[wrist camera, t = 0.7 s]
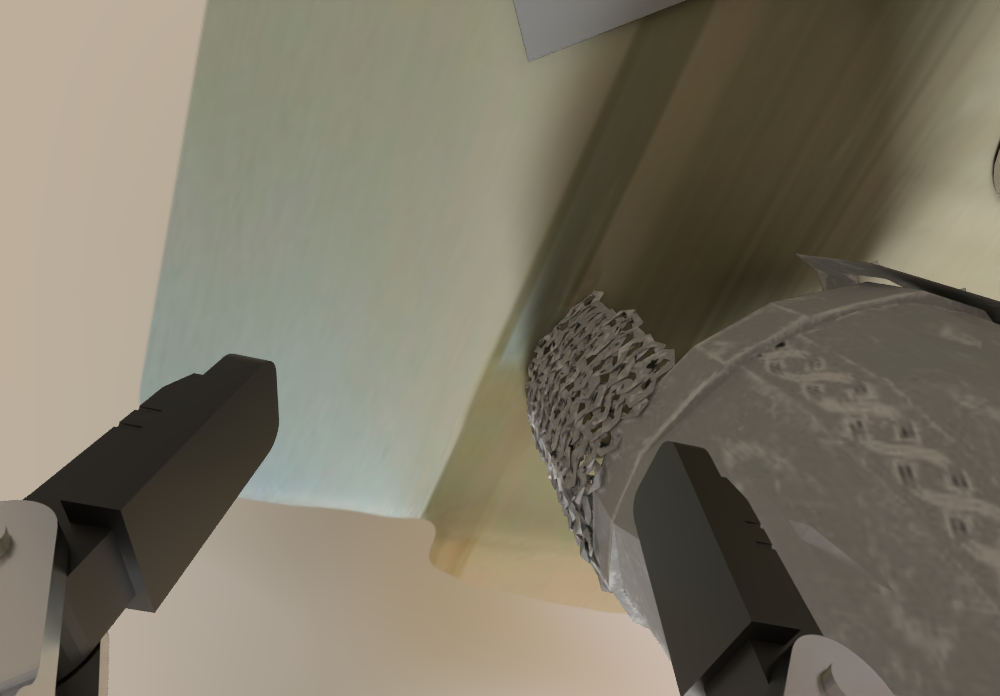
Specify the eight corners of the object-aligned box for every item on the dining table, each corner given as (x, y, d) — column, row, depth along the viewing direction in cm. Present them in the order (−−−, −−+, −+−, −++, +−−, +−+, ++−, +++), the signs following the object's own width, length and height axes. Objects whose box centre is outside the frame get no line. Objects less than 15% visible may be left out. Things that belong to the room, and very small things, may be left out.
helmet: (825, 378, 43) (1559, 740, 15) (583, 514, 44) (847, 1078, 16) (771, 174, 34) (2144, 148, 7) (476, 349, 36) (642, 911, 8)
